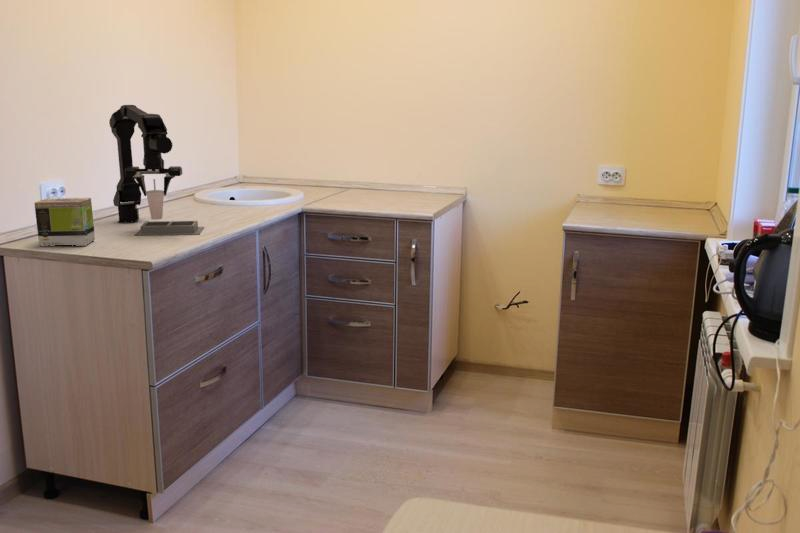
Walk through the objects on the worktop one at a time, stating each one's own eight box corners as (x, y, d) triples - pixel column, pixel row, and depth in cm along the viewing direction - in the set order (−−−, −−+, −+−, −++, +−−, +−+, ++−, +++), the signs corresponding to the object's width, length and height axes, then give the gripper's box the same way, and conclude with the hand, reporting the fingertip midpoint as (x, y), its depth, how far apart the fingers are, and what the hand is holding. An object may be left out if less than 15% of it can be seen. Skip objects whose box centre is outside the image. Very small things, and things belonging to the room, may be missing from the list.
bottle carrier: (134, 235, 273) (133, 227, 272) (141, 228, 286) (141, 220, 285) (199, 234, 276) (198, 226, 275) (203, 227, 288) (203, 219, 287)
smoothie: (147, 220, 275) (144, 180, 272) (147, 217, 281) (145, 178, 278) (166, 219, 277) (163, 180, 274) (166, 216, 283) (163, 177, 280)
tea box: (95, 240, 265) (92, 197, 262) (85, 247, 255) (81, 201, 252) (50, 240, 265) (46, 197, 261) (38, 247, 255) (33, 201, 251)
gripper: (183, 149, 282) (185, 192, 286) (129, 149, 280) (132, 192, 284) (178, 152, 272) (181, 197, 275) (122, 152, 269) (126, 197, 273)
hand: (155, 195), depth 277 cm, fingers closed on smoothie, 6 cm apart
